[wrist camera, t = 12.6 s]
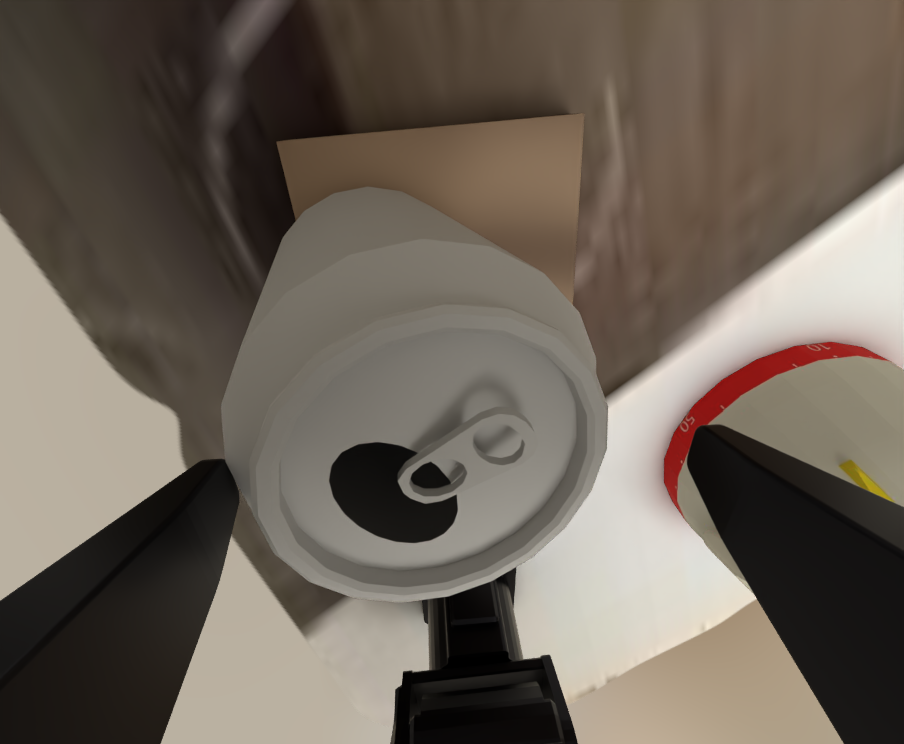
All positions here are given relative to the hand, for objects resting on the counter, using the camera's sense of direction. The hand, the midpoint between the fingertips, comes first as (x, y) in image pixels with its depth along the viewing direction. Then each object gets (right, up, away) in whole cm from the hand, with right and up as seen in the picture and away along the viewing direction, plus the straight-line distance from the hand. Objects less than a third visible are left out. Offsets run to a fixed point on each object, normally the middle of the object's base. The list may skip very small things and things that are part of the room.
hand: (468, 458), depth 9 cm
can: (-3, +5, +9) cm, 11 cm away
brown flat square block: (-1, +7, +12) cm, 14 cm away
